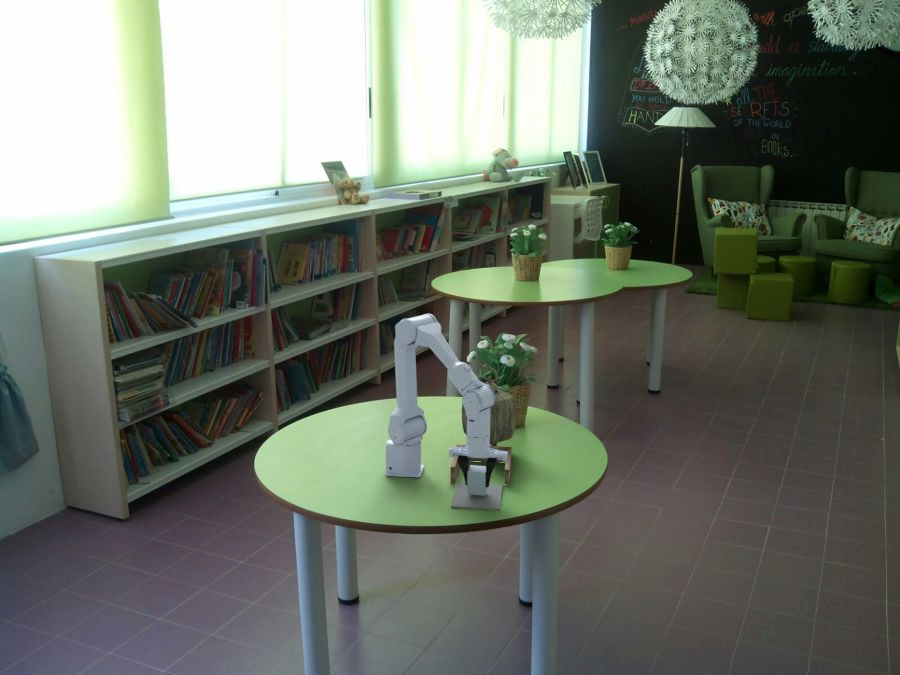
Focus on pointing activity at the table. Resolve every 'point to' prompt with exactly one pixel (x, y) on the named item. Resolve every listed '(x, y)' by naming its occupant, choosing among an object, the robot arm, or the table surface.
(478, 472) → the block
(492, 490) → the pad
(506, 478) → the brown u-shaped frame
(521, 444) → the table surface
